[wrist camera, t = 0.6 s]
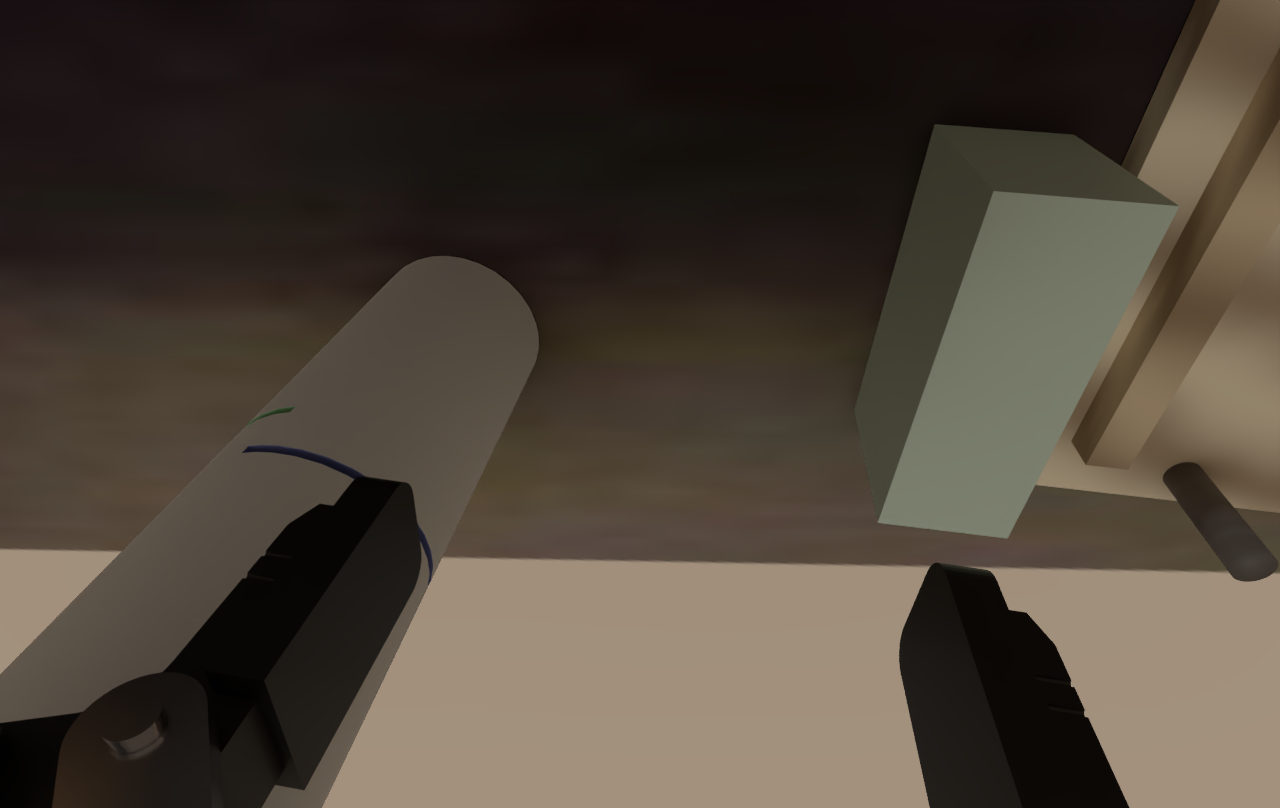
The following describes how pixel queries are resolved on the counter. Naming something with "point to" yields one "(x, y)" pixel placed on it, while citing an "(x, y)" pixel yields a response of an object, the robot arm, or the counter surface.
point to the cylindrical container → (306, 488)
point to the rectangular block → (997, 320)
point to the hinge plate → (1253, 317)
